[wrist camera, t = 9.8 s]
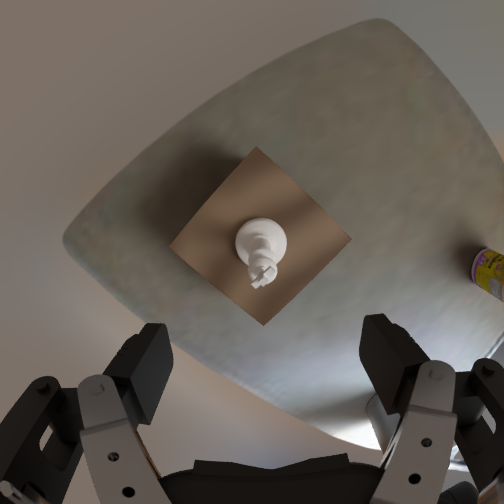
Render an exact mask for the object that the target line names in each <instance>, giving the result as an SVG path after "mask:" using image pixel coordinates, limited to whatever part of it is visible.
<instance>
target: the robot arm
mask: <svg viewBox="0 0 504 504" xmlns="http://www.w3.org/2000/svg"><path fill="white" fill-rule="evenodd" d="M359 356H360V360H361V363H362V365H363V367H364V369H365V371H366V373H367V375H368V376H369V378H370V380H371V382H372V385H373V387H374V389H375V391H376V393H377V394H376V395H375V396H374V397H373V398H372V399H371V400H370V401H369V403H368V405H367V407H366V411H367V414H368V417H369V419H370V422H371V424H372V427H373V429H374V432H375V435H376V437H377V440H378V442H379V445H380V447H381V450H382V453H383V455H384V457H383V458H382V461H381V462H380V464H379V466H378V467H376V466H373V465H369V464H365V463H356V462H349V459H348V455H347V453H344V454H339V455H332V456H326V457H319V458H311V459H308V460H305V461H302V462H298V463H295V464H291V465H288V466H285V467H281V468H277V469H264V468H258V467H253V466H247V465H242V464H238V463H233V462H217V461H202V460H195V462H194V467H193V469H189V470H184V471H179V472H176V473H172V474H169V475H167V476H164V477H162V476H161V474H160V473H159V471H158V470H157V468H156V466H155V464H154V463H153V461H152V459H151V457H150V455H149V453H148V451H147V449H146V447H145V445H144V444H143V441H142V440H141V437H140V435H139V433H138V432H137V427H138V425H139V424H145V425H150V424H151V421H152V419H153V416H154V414H155V411H156V408H157V406H158V403H159V401H160V398H161V396H162V393H163V391H164V388H165V386H166V383H167V381H168V378H169V376H170V373H171V371H172V368H173V353H172V349H171V344H170V340H169V336H168V331H167V327H166V325H165V324H161V323H146V324H145V326H144V327H143V329H142V330H141V332H140V333H139V334H135V335H133V336H132V337H130V338H129V339H127V340H126V341H125V343H124V344H123V346H122V347H121V349H120V350H119V351H118V352H117V355H115V357H114V358H113V360H112V361H111V362H110V364H109V365H108V367H107V368H106V369H105V371H104V372H103V374H102V375H93V376H90V377H87V378H86V379H84V380H83V381H82V382H81V383H80V384H79V386H78V388H61V386H60V384H59V382H58V380H57V379H56V378H54V377H51V376H43V377H40V378H38V379H36V380H34V381H33V382H32V383H31V384H30V385H29V387H28V388H27V389H26V390H25V392H24V393H23V394H22V395H21V397H20V398H19V399H18V401H17V402H16V403H15V404H14V406H13V407H12V408H11V410H10V411H9V412H8V414H7V415H6V416H5V418H4V419H3V421H2V422H1V424H0V504H62V502H63V499H64V497H65V494H66V492H67V489H68V487H69V484H70V482H71V479H72V477H73V475H74V472H75V470H76V467H77V465H78V463H79V461H80V458H81V456H82V454H83V452H84V454H85V457H86V461H87V465H88V468H89V471H90V474H91V478H92V481H93V483H94V486H95V489H96V492H97V495H98V498H99V500H100V503H101V504H504V368H503V367H502V366H501V365H500V364H499V363H498V362H496V361H494V360H492V359H489V358H481V359H478V360H477V361H475V363H474V365H473V367H472V369H471V371H466V372H455V371H454V369H453V368H452V367H451V366H450V365H449V364H447V363H445V362H443V361H438V360H430V358H429V357H428V356H427V355H426V354H425V352H424V351H423V350H422V349H421V348H420V346H419V345H418V344H417V343H415V340H414V339H413V338H412V337H410V335H409V333H408V332H407V331H406V330H405V329H404V328H402V327H400V326H399V325H397V324H395V323H394V324H392V323H391V322H390V320H389V319H388V318H387V317H386V316H385V315H384V314H383V313H381V314H373V315H366V316H365V318H364V321H363V328H362V334H361V340H360V346H359ZM486 408H487V409H488V411H489V412H490V414H491V415H492V417H493V418H494V420H495V422H496V430H495V433H494V434H493V433H492V431H491V429H490V427H489V426H488V424H487V423H486V421H485V420H484V418H483V416H482V413H483V412H484V410H485V409H486ZM48 425H49V426H50V428H51V429H52V430H53V432H52V434H51V436H50V438H49V439H48V441H47V443H46V445H45V447H44V448H43V450H42V451H41V450H40V446H39V442H40V439H41V437H42V435H43V433H44V432H45V430H46V428H47V427H48ZM453 440H455V442H456V444H457V446H458V448H459V450H460V452H461V454H462V456H463V458H464V461H465V463H466V465H467V467H468V469H469V471H470V473H471V476H472V478H473V480H474V482H475V485H476V487H477V489H476V488H475V487H474V486H473V485H472V484H471V483H469V482H467V481H463V482H460V483H458V484H456V485H455V486H453V487H451V488H449V489H448V490H446V491H444V492H442V493H441V489H442V486H443V483H444V479H445V476H446V472H447V469H448V467H449V465H450V456H451V451H452V446H453ZM477 490H478V491H477ZM440 493H441V494H440Z"/></svg>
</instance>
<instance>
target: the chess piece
mask: <svg viewBox="0 0 504 504" xmlns="http://www.w3.org/2000/svg"><path fill="white" fill-rule="evenodd" d="M235 245H236V250H237V253H238V255H239V257H240V259H241V260H242V261H243V262H244V263H245V264H247V265H248V266H249V267H248V274H249V277H250V279H251V280H252V282H251V285H252V286H253V287H254V288H255V289H256V288H258V287H259V286H260V285H262V286H265V285H266V284H269V283H271V282H272V281H273V280H274V279H275V277H276V275H277V266H276V264H277V263H278V262H279V261H280V260H281V259H282V258H283V256H284V254H285V251H286V246H287V239H286V235H285V233H284V231H283V229H282V228H281V227H280V225H278V224H277V223H276V222H274V221H272V220H270V219H266V218H256V219H252V220H250V221H248V222H246V223H245V224H244V225H243V226H242V227H241V228H240V230H239V231H238V233H237V236H236V241H235Z"/></svg>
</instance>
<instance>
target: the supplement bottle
mask: <svg viewBox="0 0 504 504" xmlns="http://www.w3.org/2000/svg"><path fill="white" fill-rule="evenodd" d="M471 274H472V279H473V282H474V283H475V284H476V285H478V286H479V287H481V288H482V289H484V290H485V291H487V292H488V293H490V294H492V295H493V296H495V297H496V298H498V299H499V300H501V301H502V302H504V255H502V254H500V253H497V252H495V251H493V250H491V249H483V250H481V251H480V252H479V253H478V254H477V256H476V257H475V259H474V262H473V265H472V270H471Z"/></svg>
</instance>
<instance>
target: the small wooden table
mask: <svg viewBox="0 0 504 504" xmlns="http://www.w3.org/2000/svg"><path fill="white" fill-rule="evenodd" d="M256 218H266V219H270V220H272V221H274V222H276V223H277V224H278V225H280V227H281V228H282V229H283V231H284V233H285V235H286V239H287V246H286V251H285V254H284V256H283V258H282V259H281V260H280V261H279V262H278V263H277V264H276V266H277V275H276V277H275V279H274V280H273V281H272V282H271V283H269V284H266V285H265V286H262V285H260V286H259V287H258V288H256V289H255V288H254V287H253V286H252V285H251V282H252V280H251V279H250V277H249V274H248V267H249V266H248V265H247V264H245V263H244V262H243V261H242V260H241V259H240V257H239V255H238V253H237V250H236V245H235V241H236V236H237V233H238V231H239V230H240V228H241V227H242V226H243V225H244V224H245V223H246V222H248V221H250V220H252V219H256ZM350 241H351V238H350V237H349V235H348V234H347V233H346V232H345V231H344V230H343V229H342V228H341V227H340V226H339V225H338V224H337V223H336V222H335V221H334V220H333V219H332V218H331V217H330V216H329V215H328V214H327V213H326V212H325V211H324V210H323V209H322V208H321V207H320V206H319V205H318V204H317V203H316V202H315V201H314V200H313V199H312V198H311V197H310V196H309V195H308V194H307V193H306V192H305V191H304V190H303V189H302V188H301V187H300V186H299V185H298V184H297V183H296V182H295V181H294V180H293V179H292V178H291V177H290V176H288V175H287V174H286V173H285V172H284V171H283V170H282V169H281V168H280V167H279V166H278V165H277V164H275V163H274V162H273V161H272V160H271V159H270V158H269V157H268V156H267V155H265V154H264V153H263V152H262V151H261V150H260V149H259V148H258V147H255V148H254V149H253V150H252V151H251V152H250V153H249V154H248V155H247V156H246V157H245V159H244V160H243V161H242V162H241V163H240V164H239V165H238V166H237V167H236V168H235V169H234V171H233V172H232V173H231V174H230V175H229V176H228V177H227V178H226V179H225V180H224V182H223V183H222V184H221V185H220V186H219V187H218V188H217V190H216V191H215V192H214V193H213V194H212V195H211V196H210V198H209V199H208V200H207V201H206V202H205V203H204V204H203V206H202V207H201V208H200V209H199V210H198V212H197V213H196V214H195V215H194V216H193V217H192V219H191V220H190V221H189V222H188V223H187V225H186V226H185V227H184V228H183V230H182V231H181V232H180V233H179V234H178V236H177V237H176V238H175V239H174V241H173V242H172V243H171V244H170V246H169V248H170V249H172V250H173V251H174V252H175V253H176V254H177V255H178V256H180V257H181V258H182V259H183V260H184V261H185V262H186V263H188V264H189V265H190V266H191V267H192V268H193V269H195V270H196V271H197V272H198V273H199V274H200V275H202V276H203V277H204V278H205V279H206V280H208V281H209V282H210V283H211V284H212V285H214V286H215V287H216V288H217V289H218V290H220V291H221V292H222V293H223V294H224V295H226V296H227V297H228V298H229V299H231V300H232V301H233V302H234V303H235V304H237V305H238V306H239V307H240V308H242V309H243V310H244V311H245V312H247V313H248V314H249V315H250V316H252V317H253V318H254V319H256V320H257V321H258V322H259V323H261V324H262V325H263V326H264V325H265V324H266V323H267V322H268V321H270V320H271V319H272V318H273V317H274V316H275V315H276V314H277V313H278V312H279V311H280V310H281V309H282V308H283V307H285V306H286V305H287V304H288V303H289V302H290V301H291V300H292V299H293V298H294V297H295V296H296V295H297V294H298V293H299V292H300V291H301V290H302V289H303V288H304V287H305V286H306V285H307V284H308V283H309V282H310V281H311V280H312V279H313V278H314V277H315V276H316V275H317V274H318V273H319V272H320V271H321V270H322V269H323V268H324V267H325V266H326V265H327V264H328V263H329V262H330V261H331V260H332V259H333V258H334V257H335V256H336V255H337V254H338V253H339V252H340V251H341V250H342V249H343V248H344V247H345V246H346V245H347V244H348V243H349V242H350Z"/></svg>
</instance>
